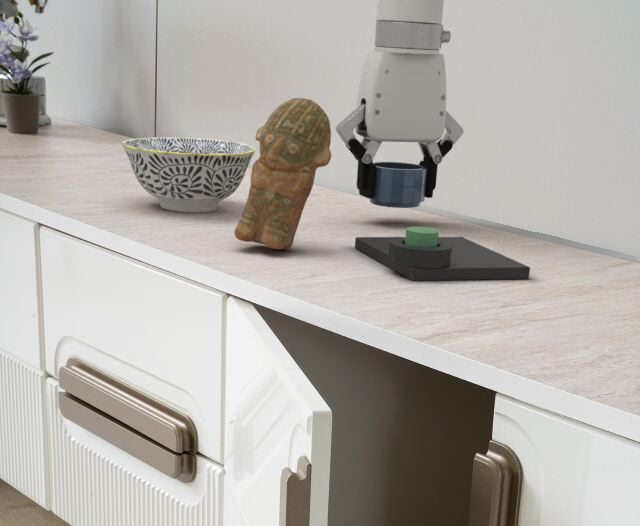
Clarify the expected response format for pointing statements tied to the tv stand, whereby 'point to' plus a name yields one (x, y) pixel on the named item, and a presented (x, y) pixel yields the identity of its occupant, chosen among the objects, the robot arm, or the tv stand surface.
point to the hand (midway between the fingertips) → (395, 195)
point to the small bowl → (399, 184)
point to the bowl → (188, 170)
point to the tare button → (421, 237)
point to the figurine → (284, 172)
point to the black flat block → (442, 259)
